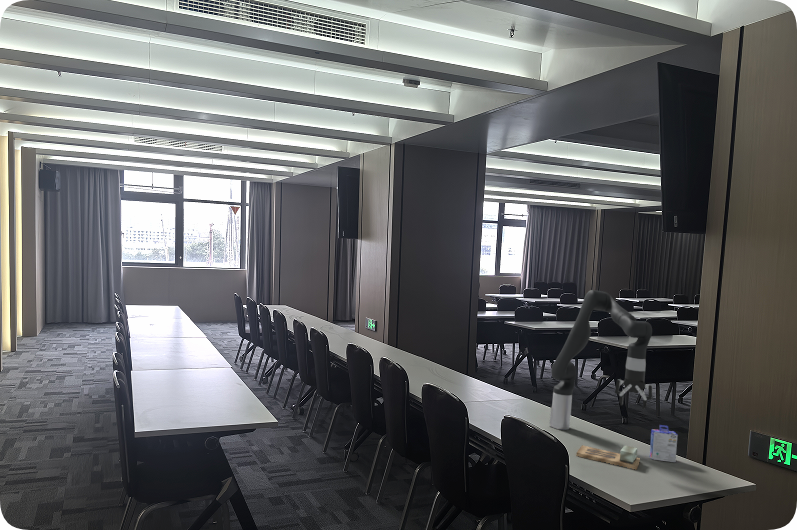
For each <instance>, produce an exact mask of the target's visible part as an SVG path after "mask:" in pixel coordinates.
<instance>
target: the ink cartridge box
mask: <svg viewBox="0 0 797 530" xmlns="http://www.w3.org/2000/svg"><path fill="white" fill-rule="evenodd" d="M650 432H651V433H650V448H649V458H651V460H655V461H662V462H663V461H664V462H667V463H670V462H671V463H676V462H677V461H676V460H677V448H678V447H677V445H678V436H679V435H678V433H676V432H675V431H673V430H672V431H671V430H670V429H669V426H668V425H662V424H659V429H653V428H652V429H651V431H650Z"/></svg>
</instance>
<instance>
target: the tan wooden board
mask: <svg viewBox="0 0 797 530" xmlns="http://www.w3.org/2000/svg"><path fill="white" fill-rule="evenodd" d="M575 455H576V457H578V456H579V458H583V459H587V458H588V460H591V461H597V462H600V461H601V463H604V462H606V463H605V464H608V463H610V464H609V465H613V464H614V465H613V466H617V465H619V466H618V467H621V466H623V467H622V468H625V467H627V468H626V469H630V468H632V469H631V470H634V469H635V470H634V471H637V470H638V467H639V464H640V463H641V458H640V457H637V459H636V460H635V462H634V463H633V464H629V463H625V462H621V461H620V452H619V453H618V452H613V451H609V450H605V449H600V448H596V447H591V446H587V445H581V446H580V448H578V449H577V452H576V454H575ZM639 462H640V463H639Z"/></svg>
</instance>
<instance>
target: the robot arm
mask: <svg viewBox="0 0 797 530" xmlns="http://www.w3.org/2000/svg"><path fill="white" fill-rule="evenodd" d="M593 311H599V312H606V313H608V314H609V315H610V317H611V320H612V321H613V322H614V323H615V324H617V325H618V326H619V327H620V328H621V329H622V330H623V332H624V334H625V335H627V336H628V337H630V338H634V339H636V341H634V342H631V343H628V347H627V357H626V361H625V374H624V380H622V379H620V378H619V379H617V380H616V383H615V390H614V393H615V394H616V395H618V396H619V399H618V400H619V401H618V402H619V404H620V406H623V405H624V395H625V394H626V393H627V392H629V393H635V394H639V395H640V396H641V398H642V407H641V408H642V410H645V409H646V408H647V405H648V400H649V401H651V400H652V399H653V384H652V383H651V384H646V383H645V378H646V377H645V376H646V365H647V363H646V356H647V349H648V346H649V343H650V342H651V338H652V335H653V328H652V324H651V323H649V322H648V321H641V320H640V321H639V320H637V319H636V317H635V316H634V315H633V314H632V313H630V312H628V310H626V309H625V308H623V307H622V306H621V305H619V303H618V302H617V301H616V300H615V299H614V298H613V297H612V295H611V294H609V293H608V292H607V291H602V290H601V291H600V290H595V289H591V290H588V292H586V294H585V296H584V298H583V301H582V303H581V307H580V309H579V313H578V315H577V317H576V319H575V322H574V323H573V326H572V328H571V330H570V331H569V334H568V336H567V339H566V340H565V343H564V345H563V347H562V349H561V351H560V352H559V354H558V355H557V357H556V359H555V361H554V362H553V364H552V366H551V371H550V372H551V373H550V374H551V377H552V378H553V379H554V380H557V381H559V383H557V384H555V385H554V386H553V391H552V403H551V407H550V414H549V415H550V416H549V427H551V428H553V429H557V430H564V431H565V430H567V431H568V430H569V429H570V426H571V415H572V404H573V403H572V401H573V392H574V390H575V387H576V386H575V385H576V384H575V383H576V378H577V369H576V366H575V364H574V362H571V361H572V360H573V359H574V357H576V356H577V355H578V354H580V352H582V351H583V350H584V349H585V347H586V346H587V344H588V343H589V340H590V339H591V335H592V330H591V325H590V318H591V314H592V313H593ZM622 384H623V385H624V387H625V388H624V389H623V390H621V391H620V386H622ZM645 388H646V390H647V391H648V395H646V393H645V391H644V389H645Z"/></svg>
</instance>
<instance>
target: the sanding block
mask: <svg viewBox="0 0 797 530" xmlns="http://www.w3.org/2000/svg"><path fill="white" fill-rule="evenodd" d="M619 454H620V461H621V462H625V463H629V464H633V463H634V462H635V460H636V459H637V458H638V448H637V447H633V446H629V445H624V446H623V447H622V448H621V449H620V452H619Z"/></svg>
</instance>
